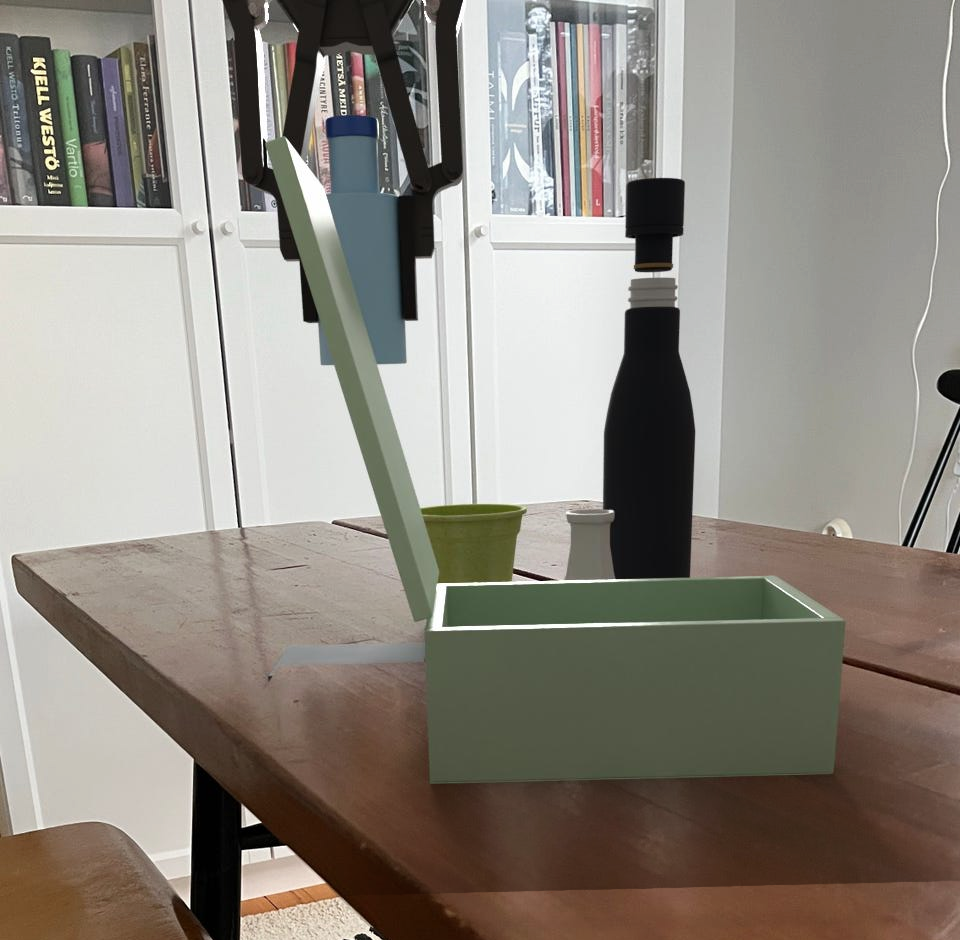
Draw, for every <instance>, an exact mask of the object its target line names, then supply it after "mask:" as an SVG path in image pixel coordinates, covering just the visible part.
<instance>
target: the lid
mask: <svg viewBox="0 0 960 940" xmlns="http://www.w3.org/2000/svg"><path fill="white" fill-rule="evenodd" d="M265 145H266V149H267V152H268V159H269V162H270V165H271V167H272V168H271V169H273V171H274V174H275V177H276V181H277V184H278V187H279V190H280V193H281V197H282V200H283V203H284V206H285V209H286V213H287V216H288V219H289V222H290V225H291V229H292V232H293V235H294V238H295V242H296V245H297V248H298V251H299V254H300V258H301V261H302V264H303V267H304V270H305V274H306V277H307V280H308V283H309V286H310V290H311V293H312V296H313V299H314V302H315V306H316V309H317V312H318V315H319V318H320V322H321V325H322V328H323V331H324V334H325V338H326V341H327V344H328V347H329V350H330V354H331V357H332V360H333V363H334V365H333V366H334V370H335V373H336V375H337V379H338V382H339V385H340V389H341V393H342V394H343V398H344V401H345V404H346V408H347V411H348V415H349V418H350V421H351V424H352V427H353V431H354V434H355V437H356V440H357V443H358V447H359V449H360V452H361V453H360V454H361V456H362V460H363V462H364V466H365V469H366V473H367V475H368V479H369V481H370V485H371V488H372V491H373V495H374V498H375V501H376V504H377V508H378V510H379V514H380V516H381V520H382V523H383V526H384V530H385V533H386V536H387V540H388V543H389V546H390V549H391V552H392V555H393V558H394V562H395V565H396V568H397V572H398V575H399V578H400V581H401V585H402V586H403V591H404V594H405V597H406V601H407V603H408V606H409V610H410V613H411V617H412V619H413V622H415V623H418V622H421V621H426V620H427V619H428V618H431V617H432V615H433V609H434V602H435V596H436V589H437V583H438V577H439V569H438V566H437V562H436V559H435V556H434V552H433V549H432V546H431V543H430V539H429V536H428V533H427V529H426V526H425V523H424V519H423V516H422V513H421V509H420V508H421V505H420V503H419V499H418V496H417V493H416V490H415V485H414V483H413V480H412V476H411V473H410V470H409V466H408V463H407V460H406V457H405V452H404V450H403V446H402V443H401V440H400V437H399V433H398V430H397V426H396V423H395V420H394V417H393V413H392V410H391V406H390V404H389V399H388V397H387V393H386V390H385V387H384V384H383V380H382V375H381V373H380V370H379V365H377V363H376V360H375V356H374V353H373V350H372V346H371V343H370V340H369V336H368V333H367V330H366V327H365V323H364V320H363V317H362V313H361V310H360V307H359V303H358V300H357V297H356V293H355V290H354V287H353V283H352V280H351V277H350V273H349V270H348V267H347V263H346V260H345V257H344V253H343V250H342V247H341V243H340V240H339V237H338V233H337V230H336V227H335V223H334V220H333V217H332V214H331V210H330V207H329V204H328V200H327V197H326V194H327V193H326V191H325V187H324V186H323V185H322V182H320V181H319V179H318V178H317V176H316V175H315V174H314V172H313V171H312V170H311V169H310V167H309V166H308V165H307V162H306V163H305V162H304V161H303V160H302V158H301V157H300V156H299V154H298V153H297V152H296V150H295V149H294V148H293V146H292V145H291V144H290V142H289V141H288V140H287V138H286V137H285V136H283V135H281V136H279V137H277V138H274V139H271V140H267V142H266V143H265Z"/></svg>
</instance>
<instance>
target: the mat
mask: <svg viewBox="0 0 960 940" xmlns="http://www.w3.org/2000/svg"><path fill="white" fill-rule="evenodd" d="M392 663H393V664H395V663H396V664H397V663H400V664H401V663H425V642H424V641H421V642H419V641H418V642H415V641H414V642H378V643H373V642H372V643H338V644H337V643H336V644H334V643H333V644H299V645H297V644H296V645H295V644H294V645H292V644H291V645H288V646H287V648H286V649H285V651H284V652H283V654H282V655H281V657H280V658H279V660H277V663H276V664H275V666H274V667H273V669H272V670H271V671H270V673H269V674H268V676H267V681H268V682H270V681H271V680H272V678H273V676H274V675H275V673H276V672H277V670H278V669H279V668H280V666H308V665H309V666H310V665H314V666H316V665H353V664H356V665H359V664H392Z"/></svg>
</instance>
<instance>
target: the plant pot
mask: <svg viewBox="0 0 960 940" xmlns="http://www.w3.org/2000/svg"><path fill="white" fill-rule="evenodd" d="M420 509H421V513H422V516H423V519H424V523H425V526H426V529H427V533H428V536H429V539H430V543H431V546H432V549H433V552H434V556H435V559H436V562H437V566H438V569H439V577H438V583H437V584H454V583H495V582H513V576H514V566H515V556H516V547H517V539H518V535H519V534H520V532H521V528H522V527H521V526H522V520H523V515H525V514H527V512H528V507H526V506H524V505H519V504H510V503H509V504H508V503H457V504H443V505H433V506H424V507H420Z"/></svg>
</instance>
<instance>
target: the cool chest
mask: <svg viewBox="0 0 960 940" xmlns="http://www.w3.org/2000/svg"><path fill="white" fill-rule="evenodd" d="M846 621H847V620H845V619H843V618H842V617H841V616H839V615H838V614H836V613H834V612H833V611H831V610H830V609H828V608H827V607H825V606H823V605H822V604H820V603H819V602H817V601H816V600H814V599H812V598H810V597H809V596H807V594H805V593H803V592H801V591H800V590H799V589H797V588H795V586H792V585H791V584H789V583H788V582H786V581H785V580H783V579H781V578H780V577H779V576H777V575H754V576H753V575H747V576H706V577H705V576H704V577H703V576H702V577H690V578H658V579H618V580H577V581H563V580H543V581H540V580H539V581H538V580H537V581H536V580H535V581H512V582H495V583H454V584H437V589H436V596H435V602H434V609H433V615H432V617H431V618H428V619H425V626H424V630H423V639H424V640H423V642H425V662H424V663H425V665H424V666H425V667H424V668H425V690H426V691H425V693H426V717H427V718H426V719H427V742H428V743H427V744H428V745H427V746H428V768H429V784H435V785H437V784H474V783H475V784H476V783H510V782H511V783H512V782H513V783H514V782H516V783H517V782H518V783H519V782H552V781H553V782H554V781H560V782H561V781H591V780H592V781H594V780H595V781H596V780H597V781H599V780H634V779H635V780H636V779H637V780H639V779H677V778H678V779H679V778H717V777H718V778H719V777H720V778H721V777H722V778H723V777H755V776H756V777H757V776H759V777H760V776H761V777H763V776H798V775H801V776H803V775H805V776H806V775H833V774H834V771H835V763H836V762H835V761H836V749H837V735H838V722H839V709H840V697H841V686H842V685H841V684H842V674H843V673H842V672H843V661H844V659H843V658H844V648H845V647H844V646H845V636H846V635H845V633H846Z"/></svg>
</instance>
